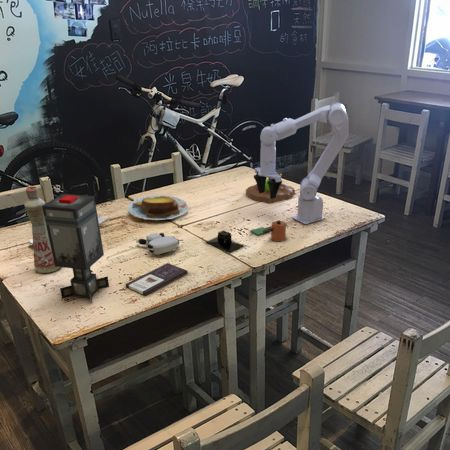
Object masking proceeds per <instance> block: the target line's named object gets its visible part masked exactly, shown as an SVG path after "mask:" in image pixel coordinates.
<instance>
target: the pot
mask: <svg viewBox="0 0 450 450" xmlns="http://www.w3.org/2000/svg"><path fill="white" fill-rule="evenodd" d="M270 226H271V229H267V230H264V231H263V233H267V232H270V240H271V241H273V242H284V241H285V240H286V235H287V233H286V232H287V223H286V222H285V221H282V220H274V221H272V222H271V225H270ZM267 234H268V233H267Z"/></svg>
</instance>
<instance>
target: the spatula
mask: <svg viewBox="0 0 450 450" xmlns="http://www.w3.org/2000/svg"><path fill="white" fill-rule="evenodd" d="M267 229H271V225H270V226H267V227H264V226H261V227H258V228H253V229H250V231H249V232H250V233H251V234H254V235H255V236H256V237H258V236H263V235H267V234H271V232H267V233H263V231H264V230H267Z"/></svg>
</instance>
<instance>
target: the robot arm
mask: <svg viewBox="0 0 450 450" xmlns="http://www.w3.org/2000/svg"><path fill="white" fill-rule="evenodd" d="M317 122H320V123H324V124H328V122H329V124H330V125H331V127H332V130H333V133H334V134H333V136H332V137H331V138H330V140H329V141H328V143H327V145H326V147H325V148H324V150H323V152H322V154H321V155H320V157H319V158H318V160H317V161H316V163H315V165H314V167H313V168H312V170H311V171H310V172H309V173H308V175H307V176H306V177H304V178H303V179H302V180H301V181H300V184H299V186H300V189H299V195H298V196H297V197H298V200H297V215H295V216H292V219H293V220H296V222H299V223H301V224H303V225H307V224H310V223H315V222H319V221H322V220H324V217H323V211H324V201H323V198H322V197H321V196H320V195H319V194H318V189H319V187H320V185H321V183H322V179H323V178H324V176H325V175H326V173H327V172H328V171H329V168H331V165H332V164H333V162H334V161H335V159H336V157H337V156H338V155H339V153H340V151H341V150H342V148H343V146H344V144H345V143H346V141H347V140H348V138H349V136H350V133H349V132H350V131H349V125H350V124H349V116H348V113H347V109H346V107H345V105H344V104H342V103H341V102H333V103H331V104H328V105H324V106H321V107H320V108H317V109H315V110H313V111H311V112H308V113H306V114H305V115H302V116H300V117H297V118H296V119H293V118H290V117H289V118H287V117H285V118H283V119H282V121H279V122H277V123H271V124H270V126H265V127H264V128H263V129H261V132H260V135H259V137H260V138H259V139H260V155H259V157H260V158H259V160H260V167H254V175H253V179H254V180H255V183H256V184H257V186H258V190H259V193H264V192H265V183H266V180H267V179H268V178H270V179H272V180H271V181H267V183H268V185H269V189H270V198H271V199H273V198H276V195H277V192H278V189H279V187H280V185H281V184H283V180H282V176H279V173H278V174H277V171H276V165H277V164H276V159H277V148H276V142H277V141H281V140H284V139H286V138H287V137H290V136H293V135H295V134H296V133H297V130H298V129H300V128H304V127H306V126H309V125H311V124H315V123H317Z"/></svg>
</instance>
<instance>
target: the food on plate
mask: <svg viewBox="0 0 450 450" xmlns="http://www.w3.org/2000/svg"><path fill="white" fill-rule="evenodd" d="M188 211H189V205H188V203H187V201H186V200H184V199H182V198H180V197H178V196H174V195H167V194H158V195H157V194H156V195H148V196H143V197H140V198H136V199H134V200H132V201H131V202H130V203H129V204H128V206H127V213H128V214H129V215H131V217H133V218H134V219H137V218H138V219H142V220H146V221H147V220H148V221H151V220H152V221H162V220H163V221H165V220H172V219H175V218H178V217H180V216H184V215H186V213H187V212H188Z"/></svg>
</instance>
